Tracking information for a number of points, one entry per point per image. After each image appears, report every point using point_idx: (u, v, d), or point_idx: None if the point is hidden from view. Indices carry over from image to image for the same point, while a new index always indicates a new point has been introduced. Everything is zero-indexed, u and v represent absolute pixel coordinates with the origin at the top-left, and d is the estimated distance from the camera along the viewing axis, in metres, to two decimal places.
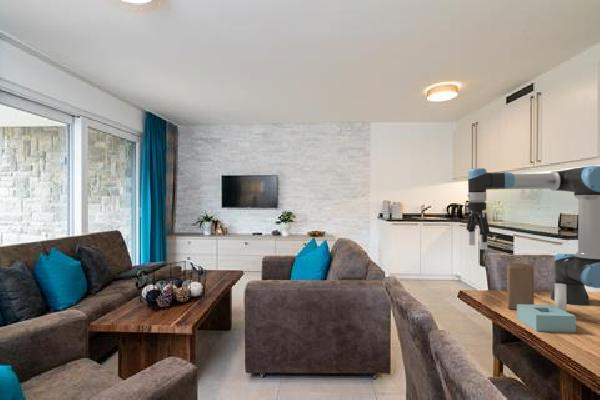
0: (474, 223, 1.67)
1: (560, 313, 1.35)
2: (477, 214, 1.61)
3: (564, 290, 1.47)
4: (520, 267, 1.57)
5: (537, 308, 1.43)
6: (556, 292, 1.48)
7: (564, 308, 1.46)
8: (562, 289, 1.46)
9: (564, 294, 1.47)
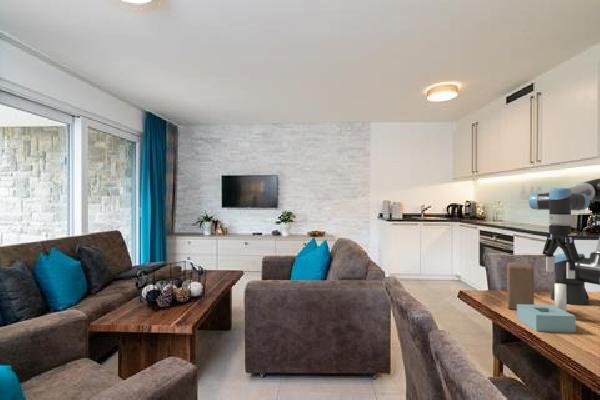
0: (554, 248, 1.52)
1: (560, 313, 1.35)
2: (561, 239, 1.46)
3: (564, 290, 1.47)
4: (520, 267, 1.57)
5: (537, 308, 1.43)
6: (556, 292, 1.48)
7: (564, 308, 1.46)
8: (562, 289, 1.46)
9: (564, 294, 1.47)
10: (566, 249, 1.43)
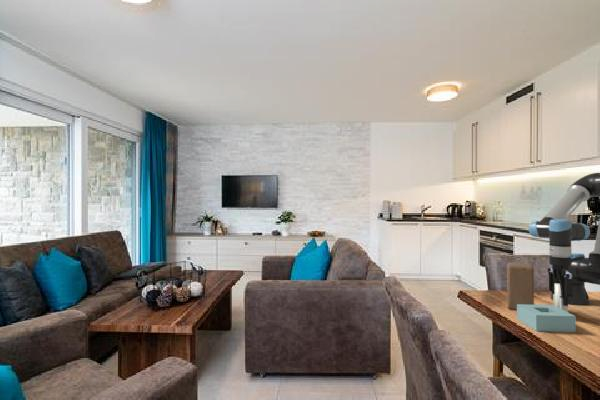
0: (558, 281, 1.50)
1: (560, 313, 1.35)
2: (562, 270, 1.46)
3: None
4: (520, 267, 1.57)
5: (537, 308, 1.43)
6: (556, 292, 1.48)
7: None
8: None
9: None
10: (563, 284, 1.46)
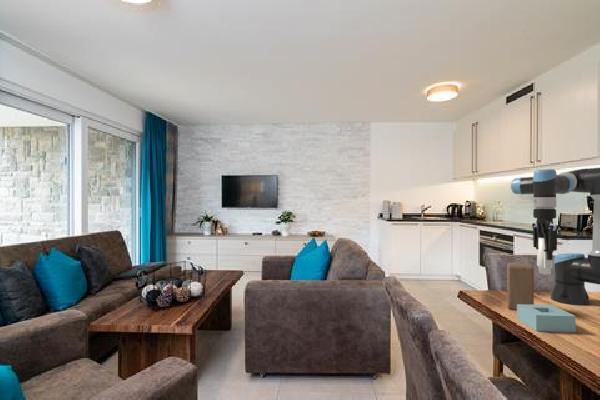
0: (542, 235, 1.41)
1: (560, 313, 1.35)
2: (546, 223, 1.37)
3: None
4: (520, 267, 1.57)
5: (537, 308, 1.43)
6: (540, 246, 1.39)
7: None
8: None
9: None
10: (547, 237, 1.37)
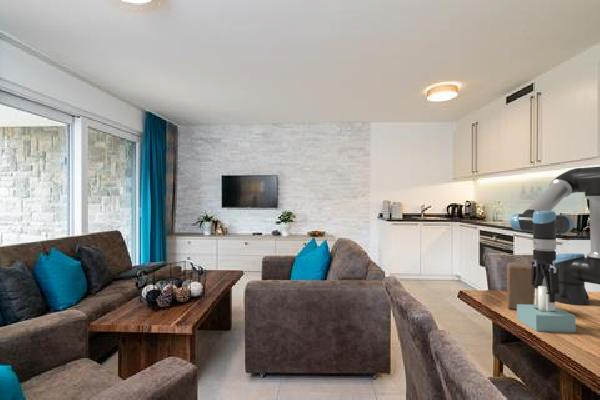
0: (541, 276, 1.42)
1: (560, 313, 1.35)
2: (546, 265, 1.37)
3: None
4: (520, 267, 1.57)
5: (537, 308, 1.43)
6: (539, 295, 1.39)
7: None
8: None
9: None
10: (548, 279, 1.36)
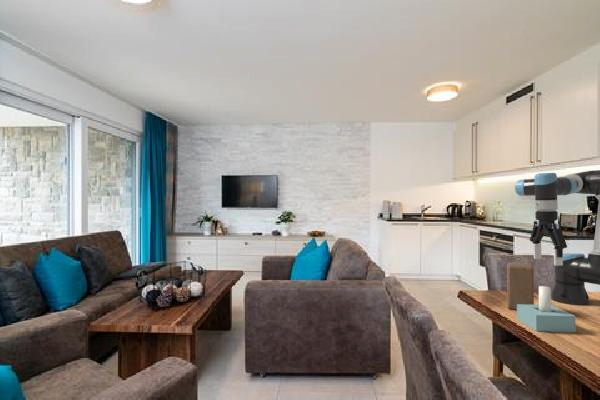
0: (541, 234, 1.48)
1: (560, 313, 1.35)
2: (548, 225, 1.41)
3: (548, 293, 1.38)
4: (520, 267, 1.57)
5: (537, 308, 1.43)
6: (540, 295, 1.39)
7: None
8: (547, 293, 1.38)
9: (548, 298, 1.38)
10: (553, 235, 1.39)
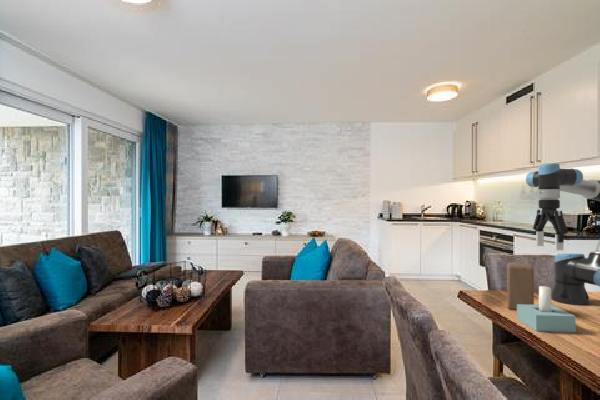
0: (544, 222, 1.56)
1: (560, 313, 1.35)
2: (550, 212, 1.50)
3: (549, 294, 1.37)
4: (520, 267, 1.57)
5: (537, 308, 1.43)
6: (540, 296, 1.39)
7: None
8: (547, 293, 1.37)
9: (549, 298, 1.38)
10: (555, 222, 1.48)
